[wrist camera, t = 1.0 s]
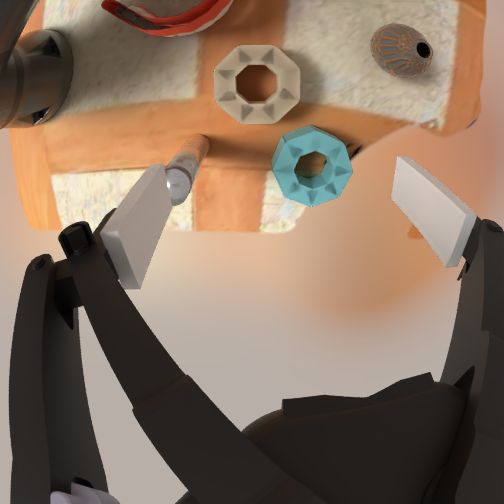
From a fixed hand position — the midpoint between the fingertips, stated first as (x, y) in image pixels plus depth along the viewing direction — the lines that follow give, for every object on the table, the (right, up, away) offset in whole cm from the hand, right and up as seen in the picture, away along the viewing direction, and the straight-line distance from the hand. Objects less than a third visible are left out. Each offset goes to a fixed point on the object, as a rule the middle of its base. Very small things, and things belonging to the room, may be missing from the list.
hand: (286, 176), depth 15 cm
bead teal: (+5, +8, +20) cm, 22 cm away
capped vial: (-9, +9, +19) cm, 23 cm away
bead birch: (-1, +16, +14) cm, 21 cm away
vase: (+15, +21, +11) cm, 28 cm away
